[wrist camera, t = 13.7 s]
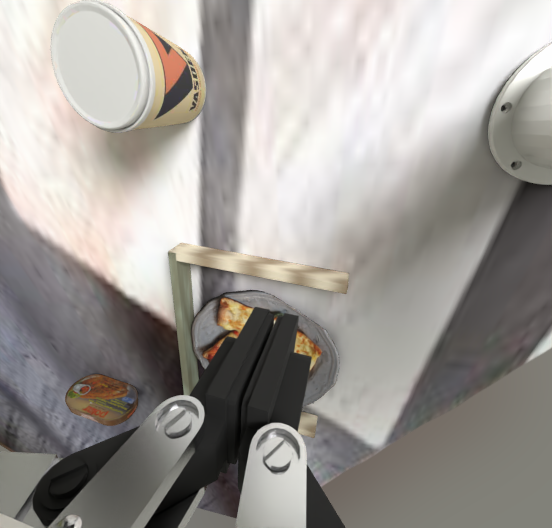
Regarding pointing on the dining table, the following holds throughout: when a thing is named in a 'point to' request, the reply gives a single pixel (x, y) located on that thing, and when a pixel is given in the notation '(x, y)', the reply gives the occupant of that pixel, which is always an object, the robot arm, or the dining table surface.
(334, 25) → the dining table surface
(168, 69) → the coffee cup
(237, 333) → the food plate
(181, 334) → the bay
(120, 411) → the tin
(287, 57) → the dining table surface
